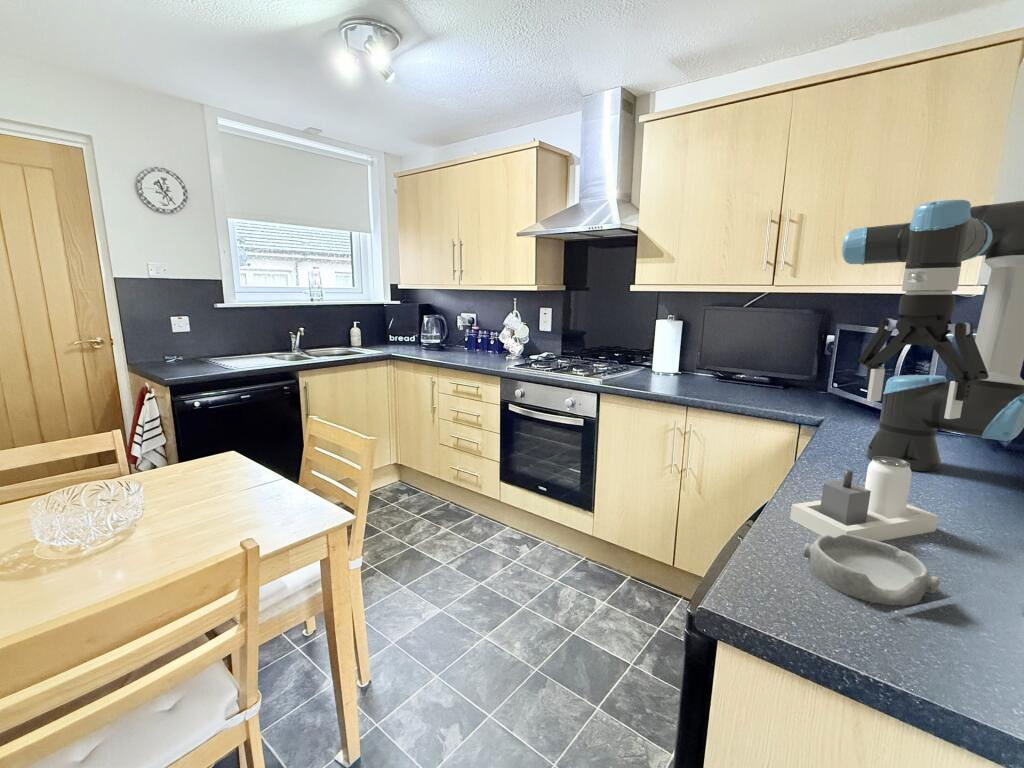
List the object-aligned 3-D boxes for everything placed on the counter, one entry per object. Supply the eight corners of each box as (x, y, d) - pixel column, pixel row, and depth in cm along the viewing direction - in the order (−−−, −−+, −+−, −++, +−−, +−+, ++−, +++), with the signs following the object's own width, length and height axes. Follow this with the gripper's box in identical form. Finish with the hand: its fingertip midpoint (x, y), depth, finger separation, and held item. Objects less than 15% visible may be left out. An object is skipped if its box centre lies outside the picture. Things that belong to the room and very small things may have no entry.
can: (890, 515, 93) (900, 456, 91) (910, 531, 87) (921, 468, 84) (853, 512, 94) (862, 454, 92) (870, 527, 88) (880, 465, 86)
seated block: (838, 520, 91) (846, 465, 89) (864, 532, 86) (873, 474, 84) (818, 523, 89) (825, 467, 87) (843, 536, 84) (852, 477, 82)
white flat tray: (874, 508, 97) (877, 492, 97) (935, 533, 87) (938, 515, 86) (789, 521, 91) (791, 504, 91) (843, 550, 81) (846, 531, 80)
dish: (948, 607, 67) (954, 574, 66) (866, 619, 64) (872, 586, 63) (854, 553, 80) (859, 525, 80) (784, 561, 78) (788, 533, 77)
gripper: (845, 293, 95) (833, 396, 100) (1001, 294, 72) (976, 428, 76) (873, 292, 98) (860, 393, 102) (1034, 293, 74) (1007, 424, 78)
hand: (909, 409), depth 89 cm, fingers open, 13 cm apart
